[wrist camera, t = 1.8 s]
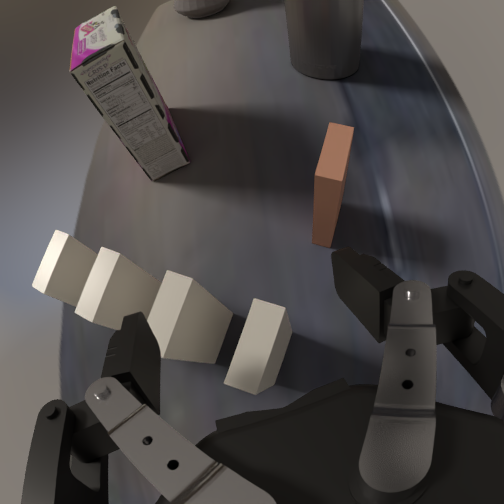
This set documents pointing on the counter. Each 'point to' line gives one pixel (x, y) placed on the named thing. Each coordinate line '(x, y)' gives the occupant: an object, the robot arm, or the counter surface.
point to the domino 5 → (330, 182)
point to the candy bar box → (126, 93)
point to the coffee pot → (199, 7)
